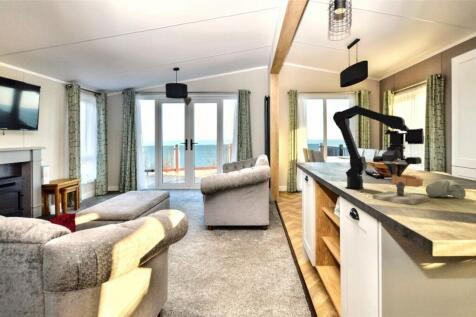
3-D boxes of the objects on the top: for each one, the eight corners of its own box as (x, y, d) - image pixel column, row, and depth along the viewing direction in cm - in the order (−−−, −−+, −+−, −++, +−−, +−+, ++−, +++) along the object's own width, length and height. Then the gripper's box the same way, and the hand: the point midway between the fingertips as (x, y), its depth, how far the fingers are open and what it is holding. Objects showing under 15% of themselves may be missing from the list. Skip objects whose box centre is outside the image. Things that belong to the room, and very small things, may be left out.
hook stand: (373, 198, 114) (373, 181, 114) (389, 194, 122) (389, 178, 121) (412, 205, 102) (413, 186, 102) (428, 200, 109) (428, 182, 109)
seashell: (430, 180, 111) (425, 174, 120) (426, 199, 113) (422, 192, 121) (470, 185, 106) (462, 178, 115) (466, 205, 107) (458, 196, 116)
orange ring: (387, 182, 124) (388, 175, 124) (399, 179, 130) (400, 173, 130) (414, 187, 115) (415, 180, 115) (425, 184, 122) (426, 178, 121)
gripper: (366, 144, 129) (366, 178, 130) (410, 145, 113) (409, 183, 114) (379, 144, 135) (379, 176, 136) (422, 144, 120) (421, 180, 121)
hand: (395, 178), depth 127 cm, fingers closed on orange ring, 2 cm apart
